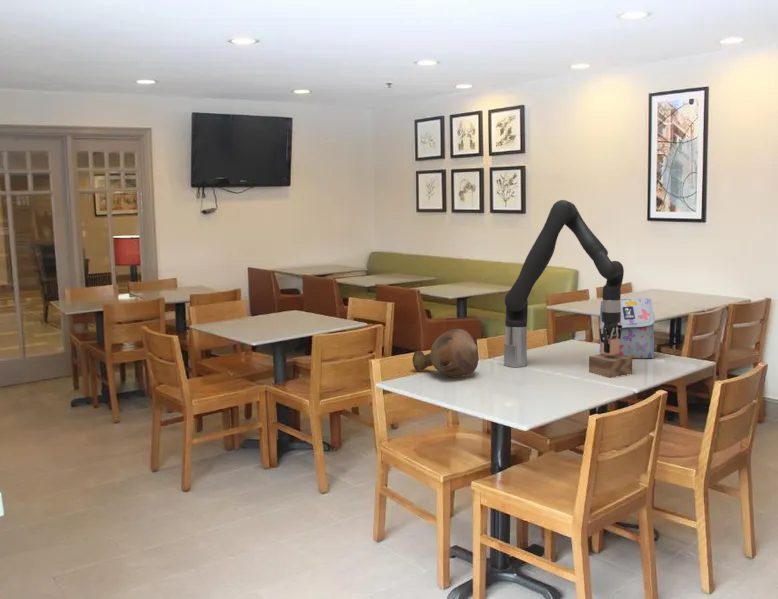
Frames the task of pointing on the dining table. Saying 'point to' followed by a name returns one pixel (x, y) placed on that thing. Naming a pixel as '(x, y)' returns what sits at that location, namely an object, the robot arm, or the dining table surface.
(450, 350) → the jug
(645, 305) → the lunch bag
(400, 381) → the dining table surface
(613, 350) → the terracotta block
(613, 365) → the walnut box
